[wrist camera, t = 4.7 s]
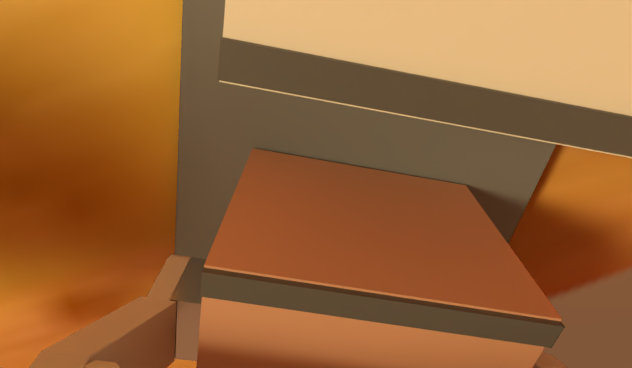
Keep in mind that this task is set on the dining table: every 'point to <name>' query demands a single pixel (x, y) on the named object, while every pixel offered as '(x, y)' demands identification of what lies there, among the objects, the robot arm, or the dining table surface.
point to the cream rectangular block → (448, 62)
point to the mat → (321, 141)
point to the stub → (364, 275)
